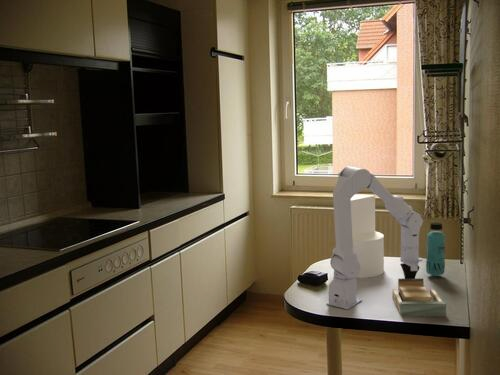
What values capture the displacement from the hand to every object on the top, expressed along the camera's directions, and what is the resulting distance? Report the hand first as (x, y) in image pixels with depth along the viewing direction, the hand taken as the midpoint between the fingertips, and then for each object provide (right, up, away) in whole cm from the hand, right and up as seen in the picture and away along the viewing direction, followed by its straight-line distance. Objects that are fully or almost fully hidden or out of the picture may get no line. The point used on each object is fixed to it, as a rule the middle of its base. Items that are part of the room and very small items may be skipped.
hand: (409, 285), depth 180 cm
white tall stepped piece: (-11, +1, +26) cm, 28 cm away
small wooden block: (-1, -4, -7) cm, 8 cm away
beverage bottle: (+14, 0, +15) cm, 20 cm away
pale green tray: (-1, -4, -12) cm, 12 cm away
